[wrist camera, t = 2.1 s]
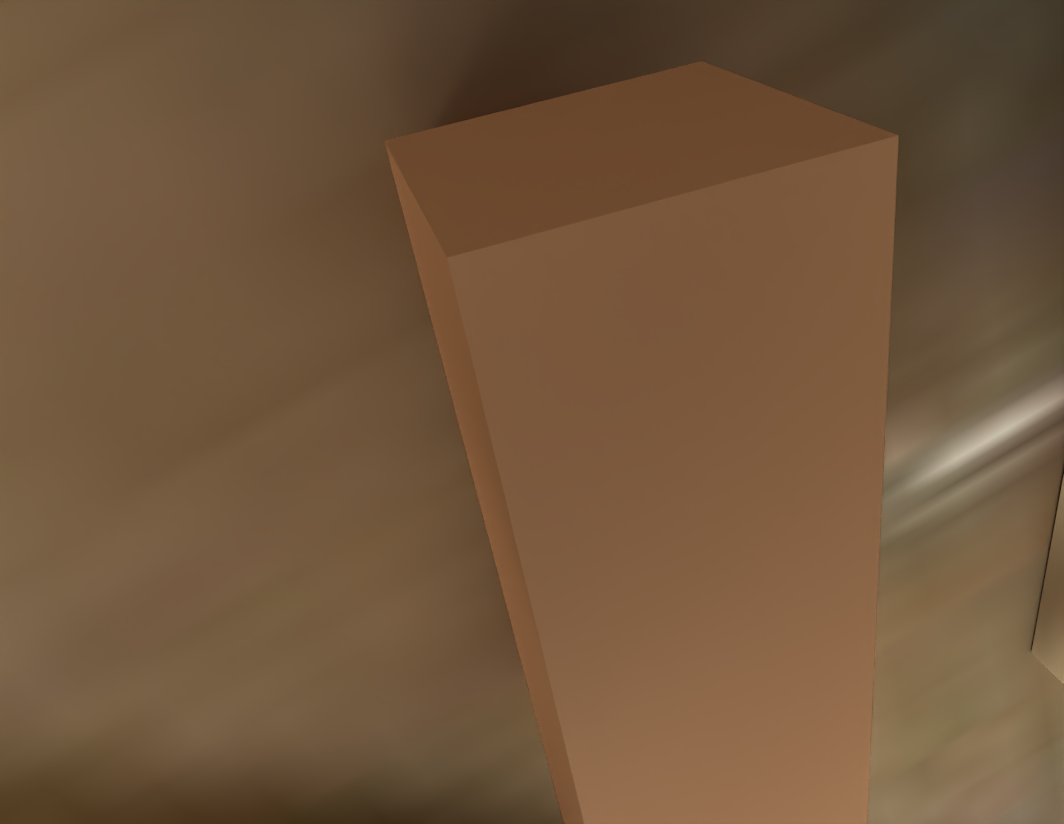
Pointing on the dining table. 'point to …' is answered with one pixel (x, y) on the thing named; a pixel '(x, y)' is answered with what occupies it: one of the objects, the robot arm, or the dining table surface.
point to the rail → (1053, 603)
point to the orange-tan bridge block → (674, 429)
